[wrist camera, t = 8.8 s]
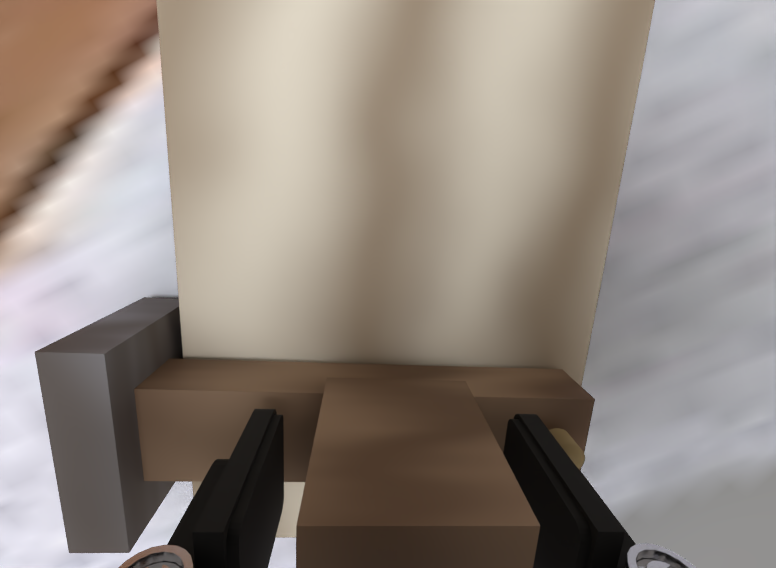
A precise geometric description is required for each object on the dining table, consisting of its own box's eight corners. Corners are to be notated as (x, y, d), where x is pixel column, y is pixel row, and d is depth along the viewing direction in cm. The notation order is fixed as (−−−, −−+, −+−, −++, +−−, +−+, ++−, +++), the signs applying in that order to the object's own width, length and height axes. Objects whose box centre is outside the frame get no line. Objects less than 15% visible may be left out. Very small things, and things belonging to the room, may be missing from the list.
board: (658, -239, 12) (720, -329, 10) (532, 498, 18) (553, 538, 16) (169, -305, 11) (122, -421, 9) (216, 497, 17) (195, 540, 15)
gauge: (545, 312, 15) (781, 476, 6) (524, 447, 16) (694, 728, 8) (144, 297, 14) (-200, 467, 5) (158, 442, 15) (-98, 757, 7)
